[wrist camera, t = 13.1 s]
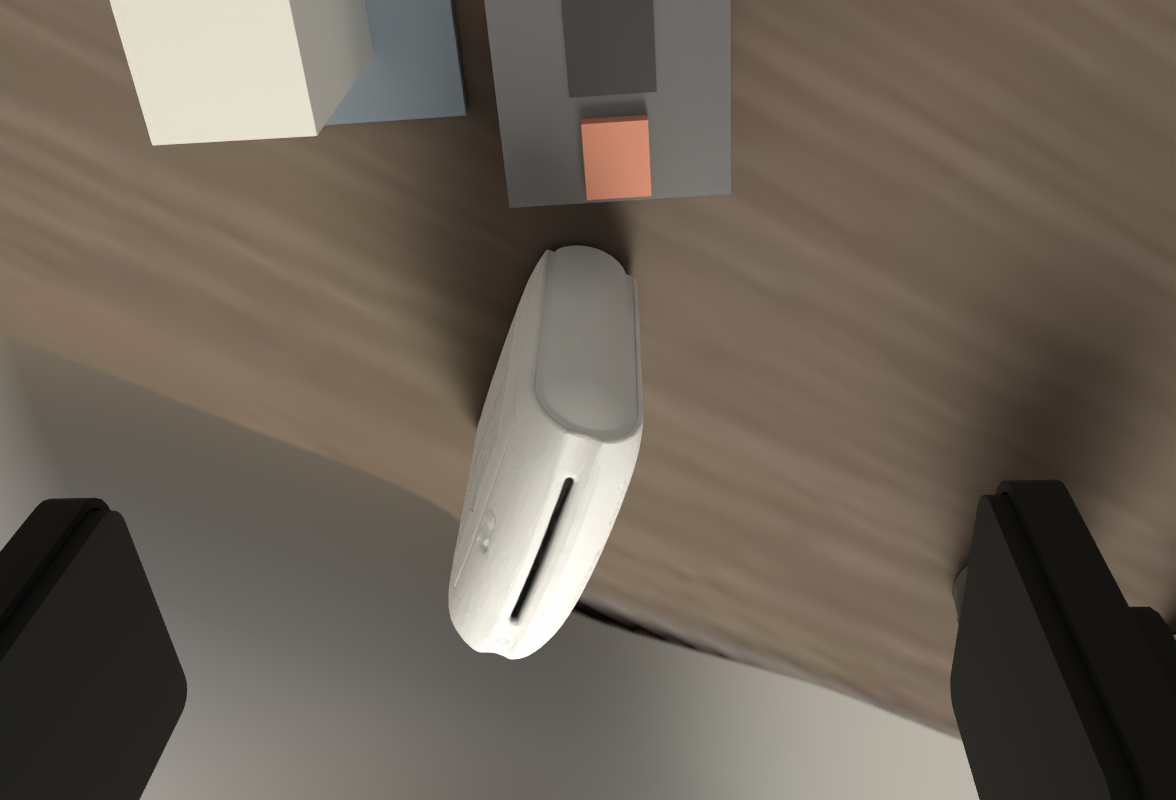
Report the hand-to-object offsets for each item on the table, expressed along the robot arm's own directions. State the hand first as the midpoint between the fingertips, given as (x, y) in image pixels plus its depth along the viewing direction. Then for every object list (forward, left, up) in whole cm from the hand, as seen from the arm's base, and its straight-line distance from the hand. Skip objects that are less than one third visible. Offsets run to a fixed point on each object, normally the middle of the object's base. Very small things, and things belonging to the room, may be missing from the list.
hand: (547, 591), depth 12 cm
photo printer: (+2, +13, -27) cm, 30 cm away
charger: (+9, -2, -26) cm, 28 cm away
